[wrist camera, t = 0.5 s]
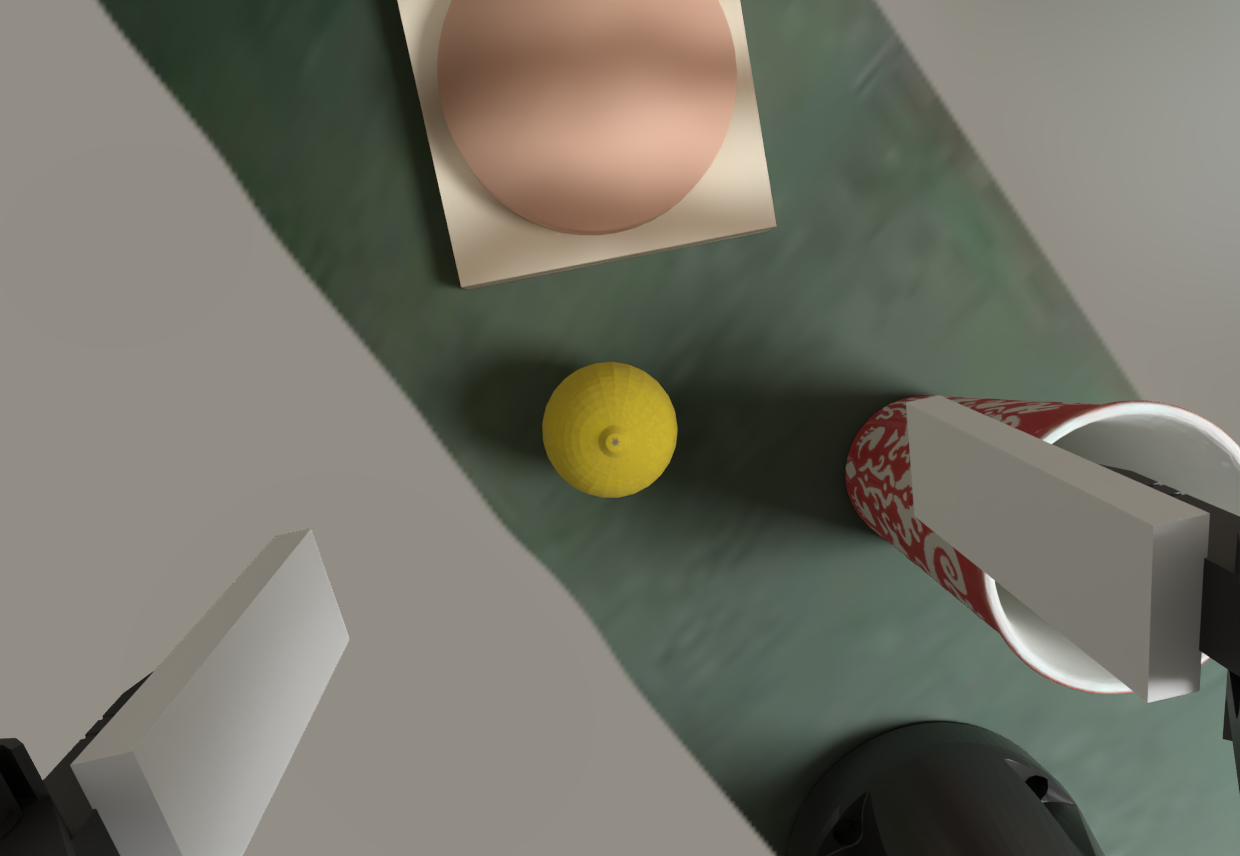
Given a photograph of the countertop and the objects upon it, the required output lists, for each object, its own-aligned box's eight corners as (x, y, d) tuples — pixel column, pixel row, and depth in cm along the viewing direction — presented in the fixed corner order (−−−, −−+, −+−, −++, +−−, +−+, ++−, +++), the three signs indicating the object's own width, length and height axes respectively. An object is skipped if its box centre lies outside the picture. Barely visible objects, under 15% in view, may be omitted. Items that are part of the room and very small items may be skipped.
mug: (813, 555, 34) (966, 691, 21) (834, 371, 33) (1008, 390, 20) (1058, 568, 35) (1352, 706, 22) (1085, 389, 34) (1411, 420, 21)
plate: (767, 231, 32) (786, 220, 29) (466, 289, 32) (455, 284, 29) (713, -95, 31) (729, -142, 28) (393, -39, 30) (373, -81, 27)
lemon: (687, 422, 33) (723, 448, 25) (600, 500, 33) (608, 549, 26) (610, 334, 32) (622, 332, 25) (521, 414, 33) (504, 437, 25)
